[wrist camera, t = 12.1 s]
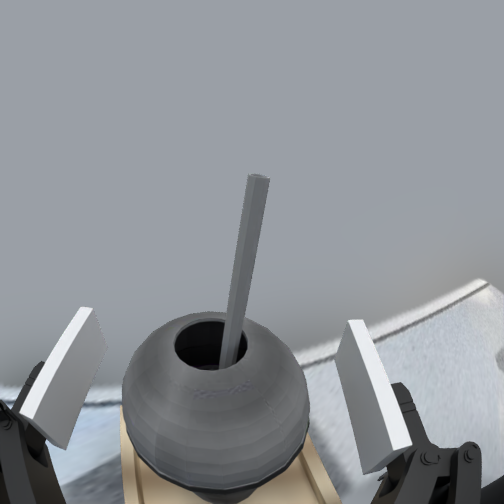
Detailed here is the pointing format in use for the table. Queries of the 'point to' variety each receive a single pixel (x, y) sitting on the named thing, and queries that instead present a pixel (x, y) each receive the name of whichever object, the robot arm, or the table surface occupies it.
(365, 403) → the robot arm
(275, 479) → the tray
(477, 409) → the table surface
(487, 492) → the coffee jar
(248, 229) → the beverage cup
